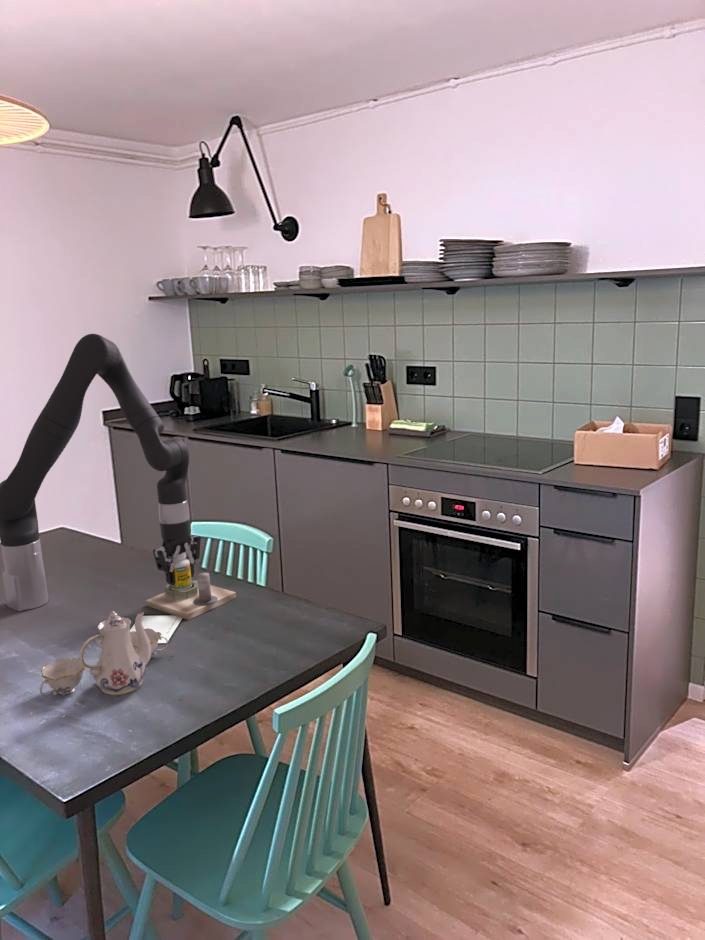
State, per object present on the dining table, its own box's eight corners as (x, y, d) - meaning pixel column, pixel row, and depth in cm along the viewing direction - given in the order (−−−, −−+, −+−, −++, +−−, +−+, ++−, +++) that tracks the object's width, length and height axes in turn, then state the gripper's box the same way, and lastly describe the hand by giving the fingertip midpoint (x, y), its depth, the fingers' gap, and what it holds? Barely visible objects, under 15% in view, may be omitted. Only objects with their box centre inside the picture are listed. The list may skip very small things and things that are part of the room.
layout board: (189, 620, 185) (186, 587, 183) (146, 605, 195) (143, 574, 193) (237, 598, 197) (234, 567, 195) (195, 585, 207) (192, 555, 205)
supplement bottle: (185, 582, 202) (181, 547, 199) (196, 587, 198) (192, 552, 196) (167, 588, 198) (163, 553, 196) (178, 593, 194) (174, 557, 192)
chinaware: (148, 651, 174) (135, 581, 171) (195, 664, 163) (182, 590, 161) (32, 705, 153) (16, 627, 150) (77, 724, 142) (61, 640, 140)
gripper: (186, 508, 201) (192, 569, 205) (142, 523, 190) (149, 586, 194) (206, 513, 197) (211, 574, 201) (161, 528, 186) (168, 593, 190)
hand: (180, 580), depth 197 cm, fingers closed on supplement bottle, 5 cm apart
